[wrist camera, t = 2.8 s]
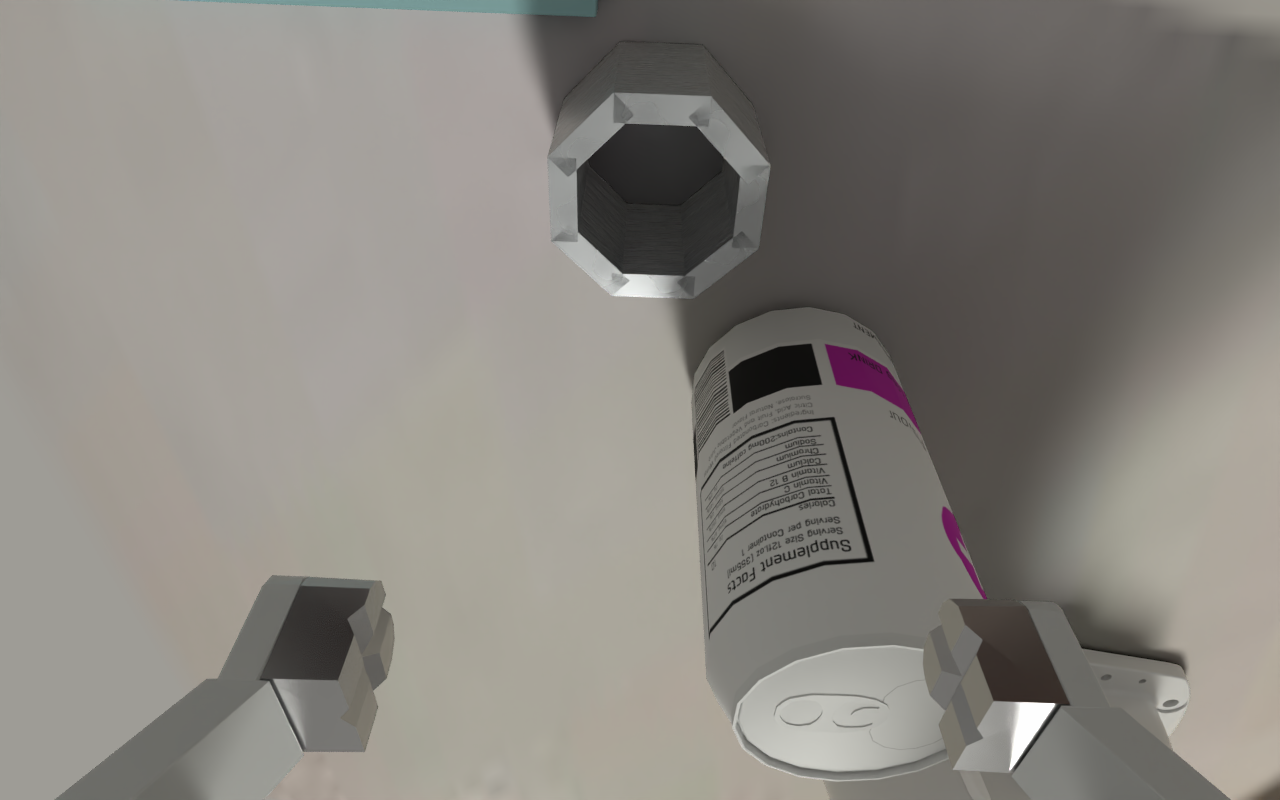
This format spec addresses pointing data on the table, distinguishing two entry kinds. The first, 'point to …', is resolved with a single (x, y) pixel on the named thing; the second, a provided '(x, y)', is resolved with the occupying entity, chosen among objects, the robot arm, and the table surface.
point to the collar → (645, 233)
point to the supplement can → (820, 548)
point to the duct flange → (454, 5)
